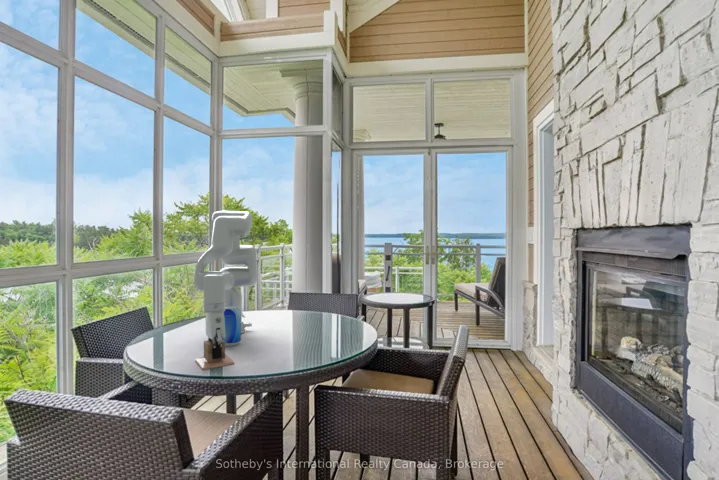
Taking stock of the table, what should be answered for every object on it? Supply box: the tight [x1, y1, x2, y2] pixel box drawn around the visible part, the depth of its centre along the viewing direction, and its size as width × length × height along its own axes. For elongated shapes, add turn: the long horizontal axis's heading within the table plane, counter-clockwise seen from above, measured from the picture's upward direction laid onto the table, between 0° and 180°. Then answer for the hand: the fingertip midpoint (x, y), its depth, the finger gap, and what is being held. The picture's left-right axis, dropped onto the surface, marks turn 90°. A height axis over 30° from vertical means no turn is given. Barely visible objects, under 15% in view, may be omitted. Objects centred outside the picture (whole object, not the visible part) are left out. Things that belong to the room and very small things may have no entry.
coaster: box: [195, 353, 235, 371], centre depth 141 cm, size 11×11×1 cm
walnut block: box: [203, 339, 226, 361], centre depth 141 cm, size 6×6×6 cm
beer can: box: [222, 306, 242, 347], centre depth 165 cm, size 8×8×16 cm
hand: (214, 355), depth 141 cm, fingers closed on walnut block, 6 cm apart
